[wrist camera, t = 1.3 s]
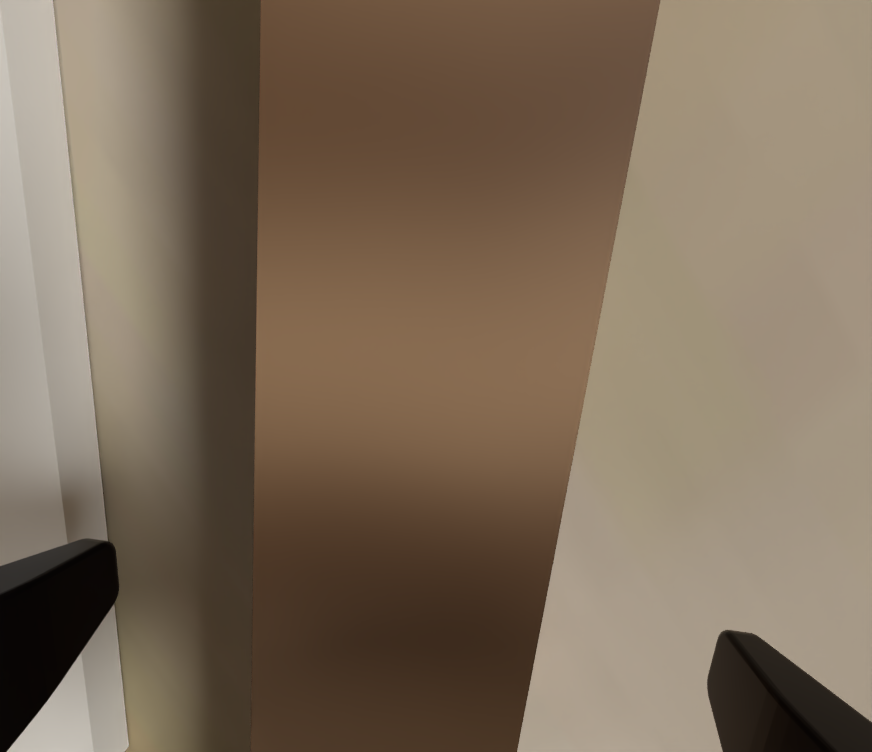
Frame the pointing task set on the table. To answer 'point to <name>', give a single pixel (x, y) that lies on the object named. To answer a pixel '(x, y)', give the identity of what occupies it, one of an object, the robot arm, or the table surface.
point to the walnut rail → (424, 350)
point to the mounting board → (48, 371)
